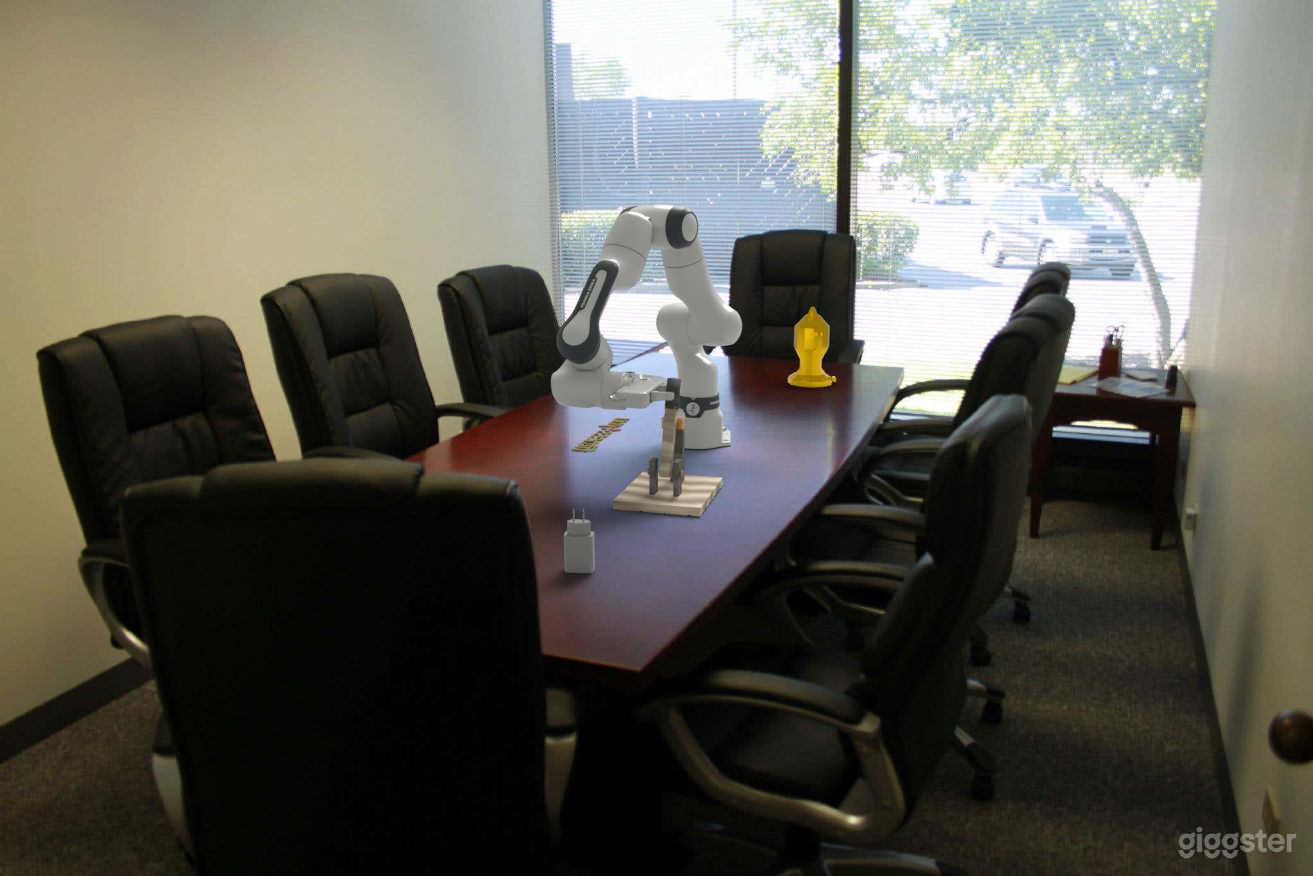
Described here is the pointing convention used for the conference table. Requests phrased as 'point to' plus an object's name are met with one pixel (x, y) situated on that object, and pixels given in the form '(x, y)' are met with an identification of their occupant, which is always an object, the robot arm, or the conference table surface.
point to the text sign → (610, 428)
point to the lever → (669, 428)
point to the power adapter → (579, 546)
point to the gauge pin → (678, 421)
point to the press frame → (669, 488)
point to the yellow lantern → (811, 351)
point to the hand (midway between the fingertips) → (676, 393)
